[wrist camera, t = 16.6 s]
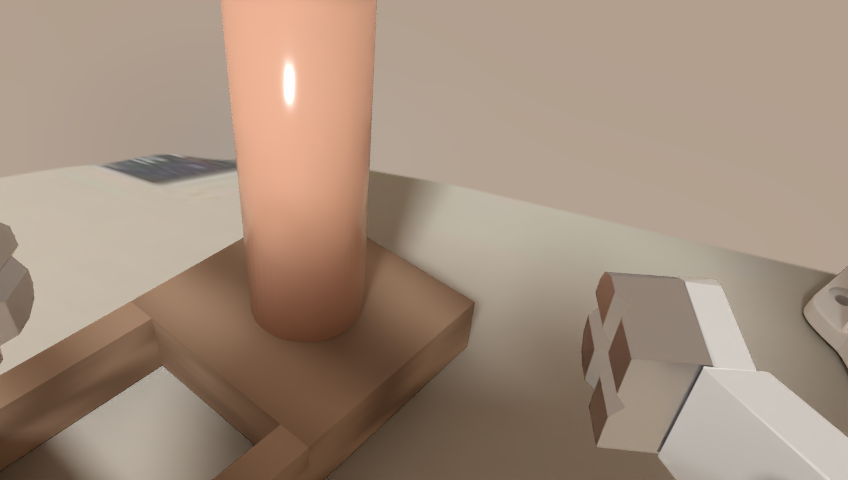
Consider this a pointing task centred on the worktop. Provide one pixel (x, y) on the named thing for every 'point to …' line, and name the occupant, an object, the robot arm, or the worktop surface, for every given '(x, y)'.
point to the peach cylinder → (302, 157)
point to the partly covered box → (250, 364)
